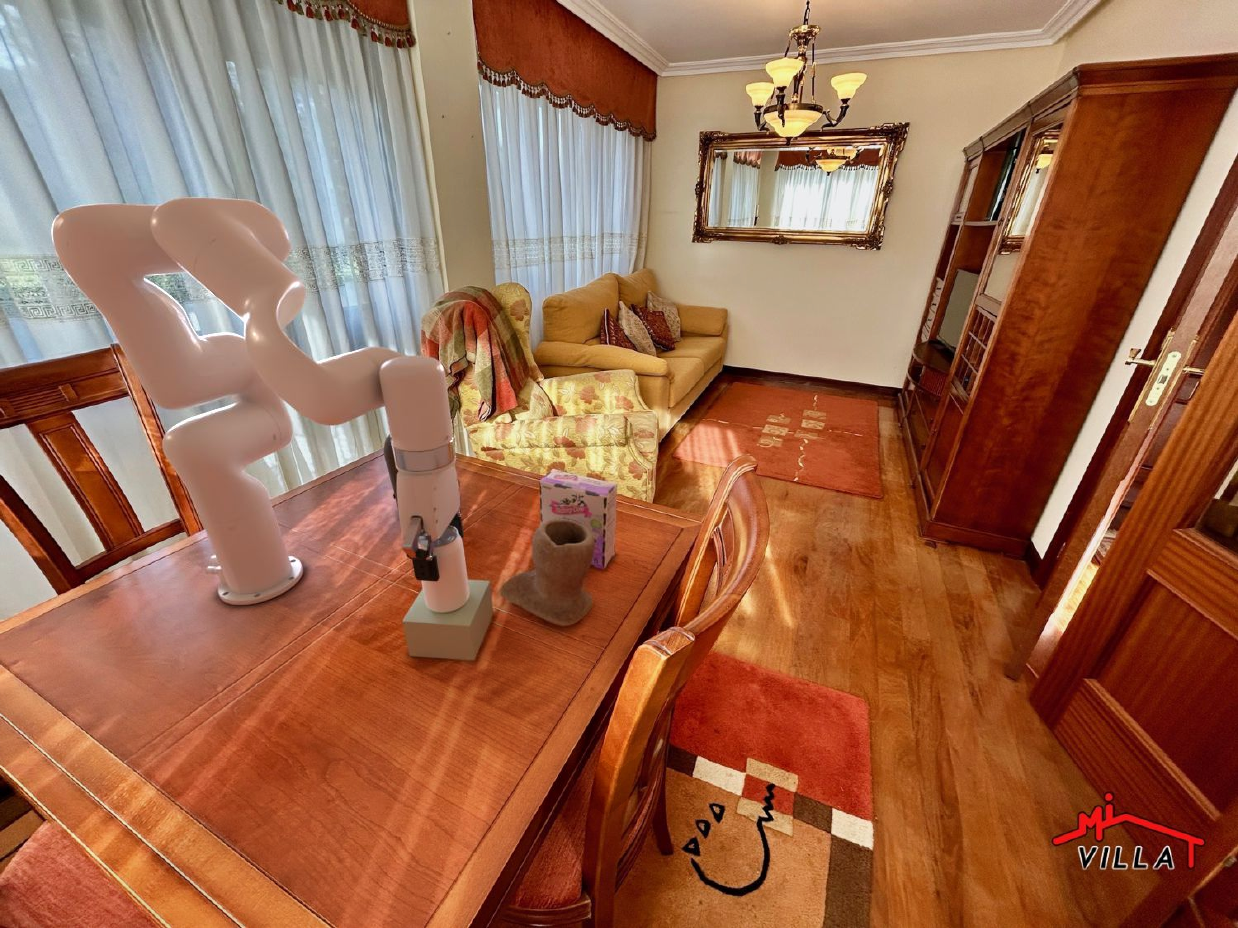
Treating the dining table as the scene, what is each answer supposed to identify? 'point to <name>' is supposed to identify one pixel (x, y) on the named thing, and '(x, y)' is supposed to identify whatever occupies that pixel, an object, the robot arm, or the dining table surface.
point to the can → (447, 573)
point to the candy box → (582, 508)
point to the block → (450, 626)
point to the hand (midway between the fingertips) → (441, 557)
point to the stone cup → (555, 574)
